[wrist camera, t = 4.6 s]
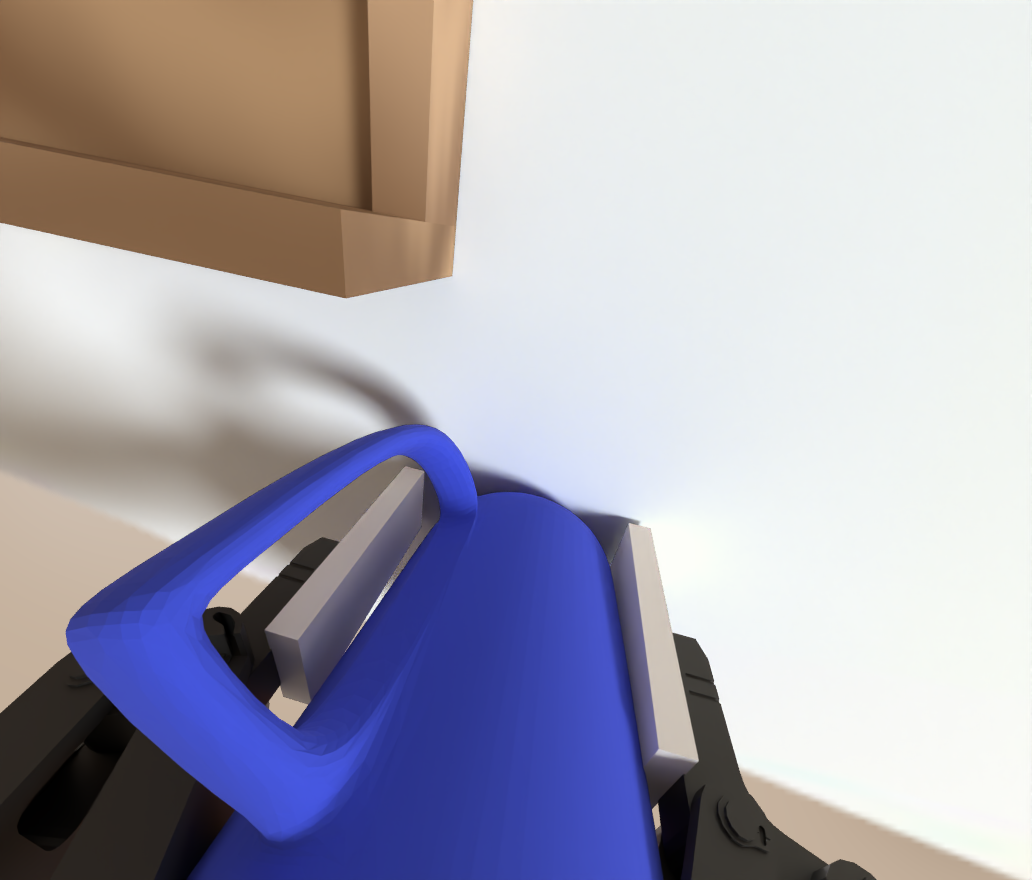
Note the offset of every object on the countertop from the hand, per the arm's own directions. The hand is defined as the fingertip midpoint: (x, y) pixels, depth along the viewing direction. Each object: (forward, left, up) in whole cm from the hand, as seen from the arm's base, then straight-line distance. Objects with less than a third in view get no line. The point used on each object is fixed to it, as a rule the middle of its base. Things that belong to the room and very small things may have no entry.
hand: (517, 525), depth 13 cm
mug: (0, -1, 0) cm, 1 cm away
